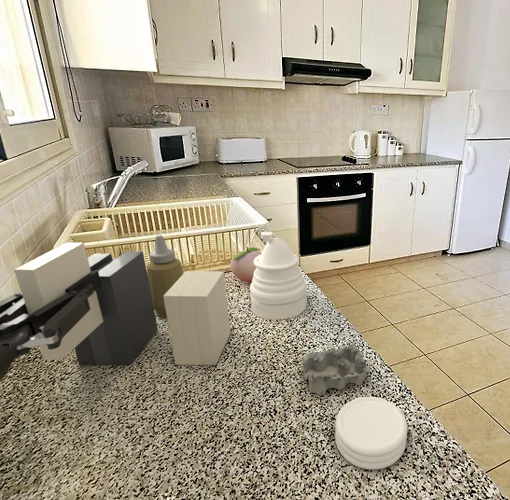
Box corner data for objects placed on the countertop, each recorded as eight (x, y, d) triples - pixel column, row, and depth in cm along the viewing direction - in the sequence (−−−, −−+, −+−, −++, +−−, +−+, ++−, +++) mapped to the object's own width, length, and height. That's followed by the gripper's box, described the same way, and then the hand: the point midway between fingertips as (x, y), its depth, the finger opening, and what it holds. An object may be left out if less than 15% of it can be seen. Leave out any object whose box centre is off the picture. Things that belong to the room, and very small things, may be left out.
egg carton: (310, 399, 60) (309, 379, 58) (299, 369, 67) (299, 350, 65) (371, 384, 63) (372, 365, 62) (355, 358, 70) (356, 339, 68)
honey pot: (257, 324, 80) (251, 245, 73) (246, 297, 90) (240, 227, 84) (314, 312, 85) (313, 238, 78) (298, 288, 95) (295, 221, 89)
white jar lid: (364, 486, 46) (365, 466, 45) (321, 432, 54) (321, 413, 53) (420, 447, 52) (423, 428, 51) (375, 403, 59) (376, 385, 58)
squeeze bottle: (143, 316, 82) (127, 239, 75) (172, 299, 89) (160, 227, 82) (171, 324, 79) (157, 245, 72) (199, 307, 86) (188, 233, 79)
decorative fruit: (253, 292, 93) (251, 255, 89) (226, 286, 96) (222, 250, 92) (274, 277, 101) (272, 243, 98) (248, 272, 104) (245, 238, 100)
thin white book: (43, 359, 53) (13, 269, 47) (88, 321, 62) (67, 242, 57) (61, 359, 53) (33, 269, 48) (103, 321, 62) (83, 242, 57)
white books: (175, 364, 67) (162, 296, 62) (195, 333, 76) (185, 270, 71) (215, 365, 67) (206, 296, 62) (230, 333, 76) (224, 271, 71)
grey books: (78, 364, 66) (52, 275, 60) (113, 330, 77) (94, 250, 70) (130, 364, 67) (109, 276, 60) (158, 330, 77) (143, 251, 70)
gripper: (-123, 407, 39) (43, 298, 61) (30, 408, 39) (140, 299, 61) (-157, 348, 36) (30, 255, 58) (8, 349, 37) (132, 257, 59)
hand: (87, 278), depth 60 cm, fingers closed on thin white book, 2 cm apart
